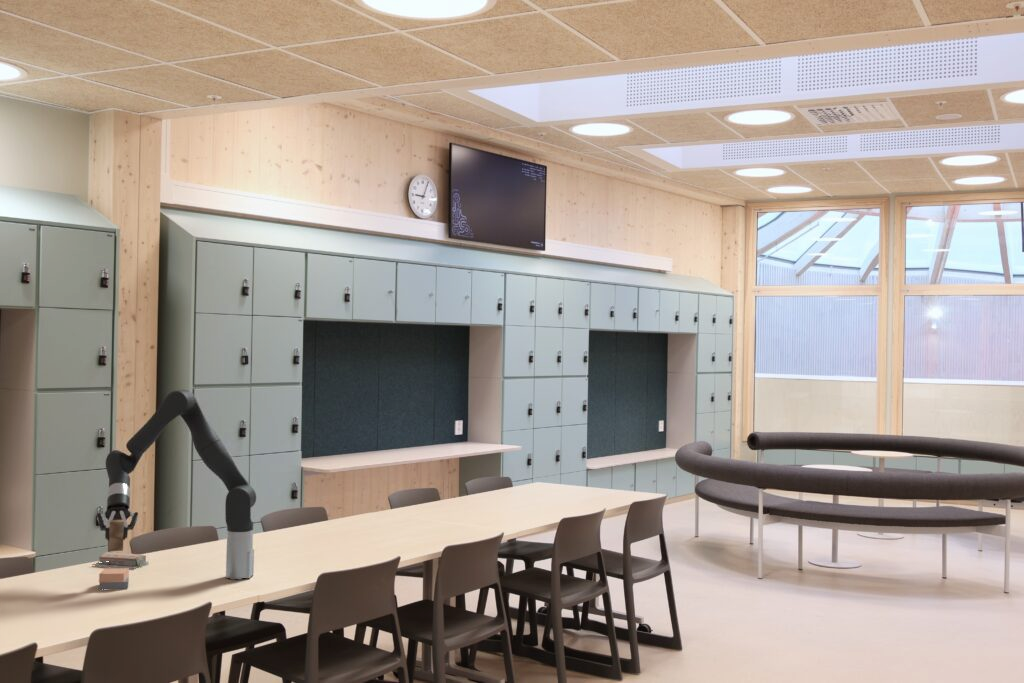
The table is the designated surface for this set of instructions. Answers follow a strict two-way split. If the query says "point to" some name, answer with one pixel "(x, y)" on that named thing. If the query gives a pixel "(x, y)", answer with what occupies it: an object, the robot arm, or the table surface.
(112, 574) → the upper slab
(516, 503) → the table surface
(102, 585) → the lower slab
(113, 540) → the brown block
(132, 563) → the packaged product
